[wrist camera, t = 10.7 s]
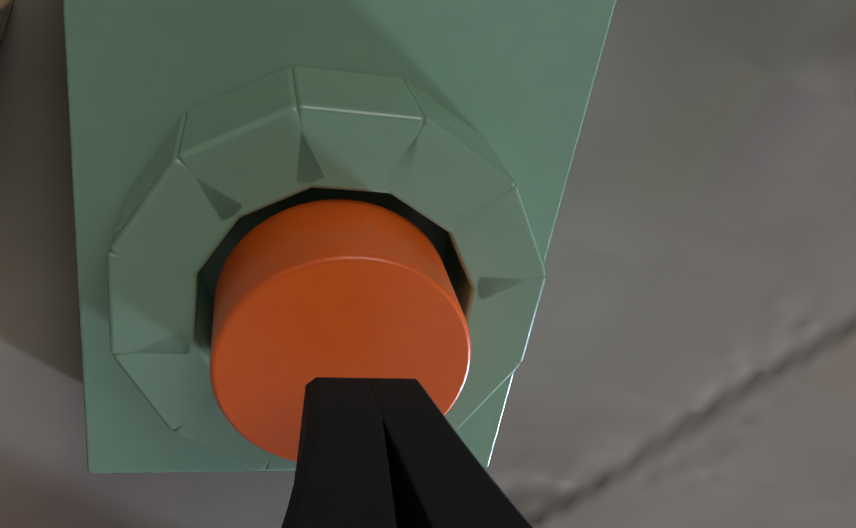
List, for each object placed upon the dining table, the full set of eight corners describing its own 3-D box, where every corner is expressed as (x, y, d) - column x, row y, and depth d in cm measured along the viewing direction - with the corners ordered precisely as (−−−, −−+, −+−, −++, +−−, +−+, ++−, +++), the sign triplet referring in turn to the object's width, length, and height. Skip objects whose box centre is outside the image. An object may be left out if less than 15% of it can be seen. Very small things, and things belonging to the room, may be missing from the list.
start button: (426, 393, 14) (447, 465, 12) (210, 390, 13) (204, 469, 11) (465, 205, 12) (496, 264, 10) (219, 187, 11) (214, 249, 9)
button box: (464, 402, 19) (512, 535, 15) (105, 399, 17) (68, 551, 13) (571, -38, 14) (674, 14, 11) (86, -115, 12) (21, -80, 9)
